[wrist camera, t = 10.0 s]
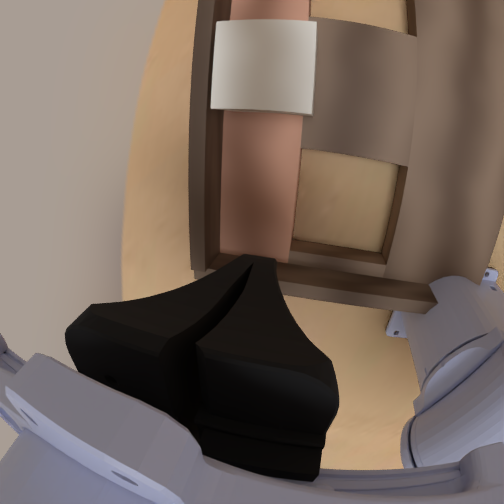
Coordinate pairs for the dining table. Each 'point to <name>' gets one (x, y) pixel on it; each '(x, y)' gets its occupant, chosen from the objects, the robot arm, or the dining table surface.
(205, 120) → the frame
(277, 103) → the block
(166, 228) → the dining table surface
